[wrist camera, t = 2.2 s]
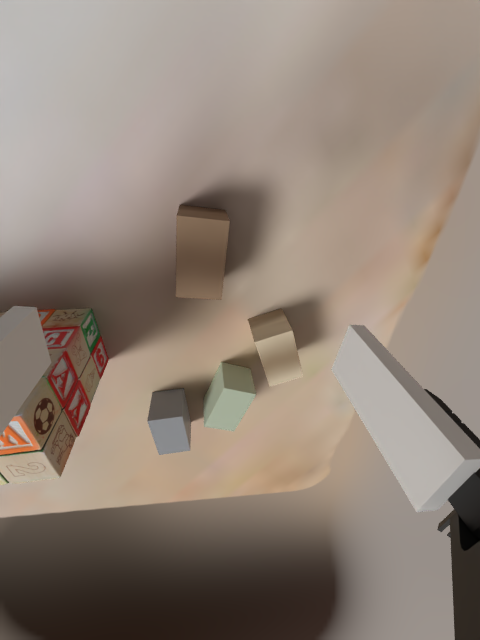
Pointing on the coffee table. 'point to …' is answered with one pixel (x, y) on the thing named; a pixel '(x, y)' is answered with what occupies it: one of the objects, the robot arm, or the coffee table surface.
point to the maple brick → (276, 347)
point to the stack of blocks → (55, 399)
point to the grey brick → (170, 421)
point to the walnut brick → (201, 252)
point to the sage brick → (228, 397)
